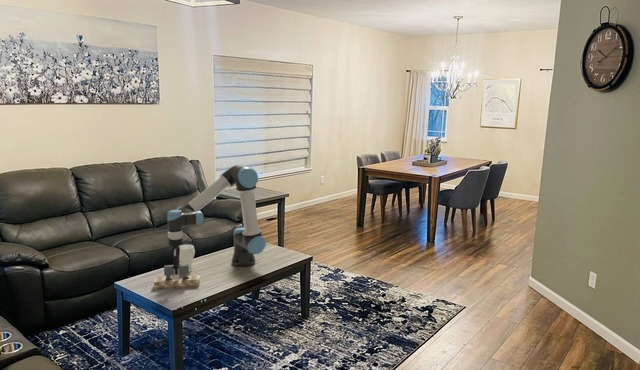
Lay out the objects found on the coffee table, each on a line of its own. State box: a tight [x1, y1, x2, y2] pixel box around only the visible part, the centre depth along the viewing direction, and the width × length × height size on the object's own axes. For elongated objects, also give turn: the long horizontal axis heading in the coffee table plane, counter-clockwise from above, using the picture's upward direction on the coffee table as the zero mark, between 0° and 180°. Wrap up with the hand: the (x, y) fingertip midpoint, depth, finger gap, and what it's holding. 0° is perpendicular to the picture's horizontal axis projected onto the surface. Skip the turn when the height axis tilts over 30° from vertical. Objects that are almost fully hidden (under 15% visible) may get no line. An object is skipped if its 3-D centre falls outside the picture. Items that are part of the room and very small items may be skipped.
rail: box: [153, 274, 201, 290], centre depth 260 cm, size 24×7×4 cm, turn 102°
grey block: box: [163, 264, 190, 280], centre depth 259 cm, size 13×3×8 cm, turn 102°
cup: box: [179, 244, 196, 273], centre depth 282 cm, size 11×11×15 cm
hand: (177, 278), depth 259 cm, fingers closed on grey block, 3 cm apart
